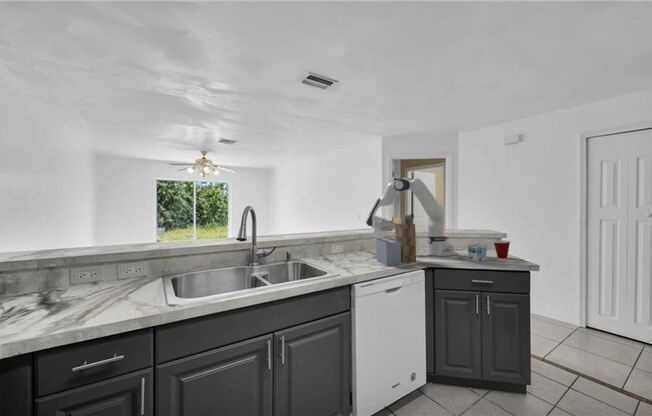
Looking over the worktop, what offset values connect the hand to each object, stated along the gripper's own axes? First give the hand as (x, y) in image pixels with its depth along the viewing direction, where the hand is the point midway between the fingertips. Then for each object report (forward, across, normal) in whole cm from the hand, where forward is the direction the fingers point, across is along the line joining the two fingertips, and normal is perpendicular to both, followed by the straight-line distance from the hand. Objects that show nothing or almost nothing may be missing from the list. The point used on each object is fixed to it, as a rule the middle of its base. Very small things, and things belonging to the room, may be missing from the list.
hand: (388, 219), depth 226 cm
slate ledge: (+11, -12, +38) cm, 42 cm away
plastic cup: (+21, +68, +43) cm, 83 cm away
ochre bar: (+20, 0, +13) cm, 24 cm away
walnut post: (+11, +1, +38) cm, 40 cm away
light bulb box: (+22, +47, +44) cm, 68 cm away
